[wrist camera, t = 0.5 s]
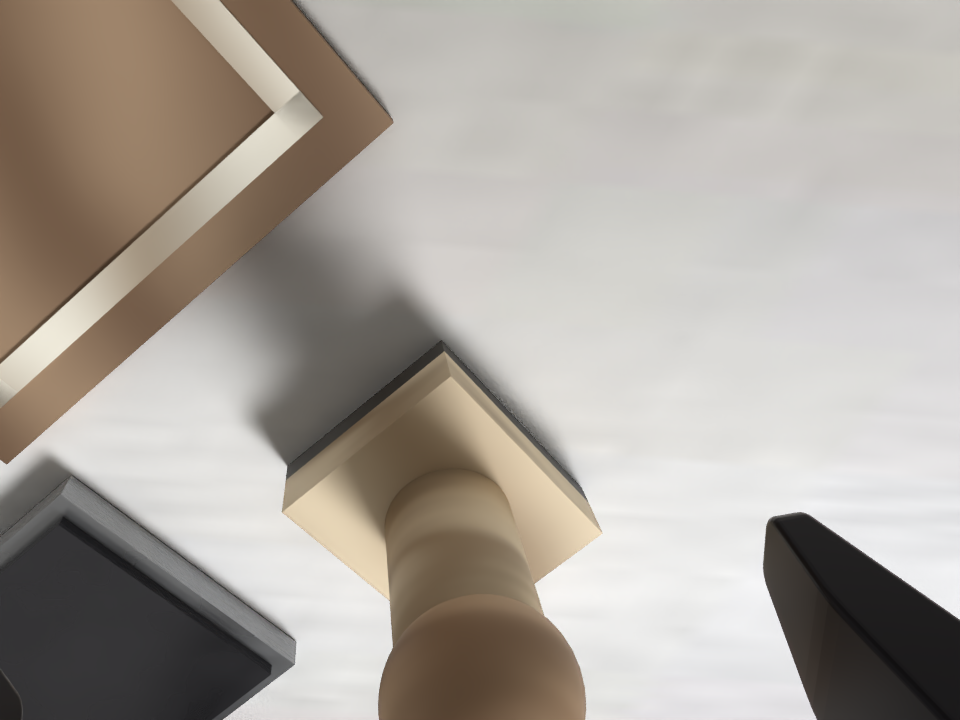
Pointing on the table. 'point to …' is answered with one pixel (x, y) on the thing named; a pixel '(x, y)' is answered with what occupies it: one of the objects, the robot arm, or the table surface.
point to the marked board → (147, 172)
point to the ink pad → (122, 621)
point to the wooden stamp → (451, 543)
